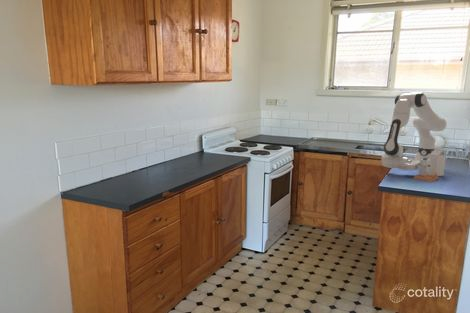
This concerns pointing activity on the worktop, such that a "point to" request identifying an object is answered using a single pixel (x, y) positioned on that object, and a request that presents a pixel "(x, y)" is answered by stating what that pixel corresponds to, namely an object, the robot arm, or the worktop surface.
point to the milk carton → (437, 162)
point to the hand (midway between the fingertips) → (425, 166)
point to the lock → (425, 163)
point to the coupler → (427, 177)
